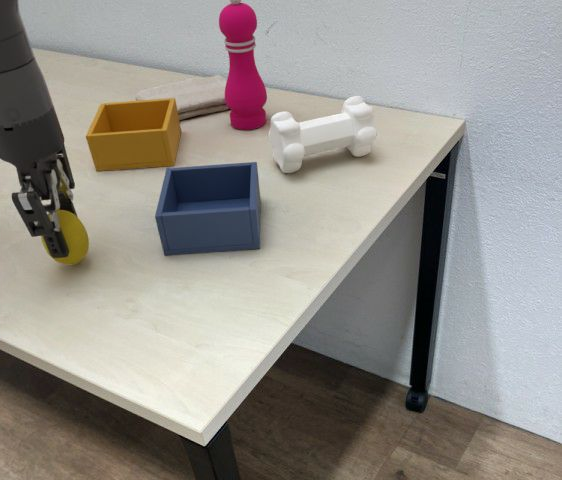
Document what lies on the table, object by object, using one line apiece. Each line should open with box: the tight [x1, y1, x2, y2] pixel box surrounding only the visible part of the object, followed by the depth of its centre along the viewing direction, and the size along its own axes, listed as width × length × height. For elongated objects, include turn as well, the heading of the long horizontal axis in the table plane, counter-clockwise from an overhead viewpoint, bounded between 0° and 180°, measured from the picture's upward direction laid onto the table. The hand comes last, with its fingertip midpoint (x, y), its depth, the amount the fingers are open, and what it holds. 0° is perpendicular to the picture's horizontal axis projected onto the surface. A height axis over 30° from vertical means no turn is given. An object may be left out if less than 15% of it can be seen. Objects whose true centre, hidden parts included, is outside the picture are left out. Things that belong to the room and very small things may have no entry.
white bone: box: [268, 95, 378, 174], centre depth 92 cm, size 15×9×8 cm, turn 110°
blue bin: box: [154, 161, 262, 256], centre depth 82 cm, size 13×13×6 cm
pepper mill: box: [218, 0, 268, 131], centre depth 100 cm, size 7×7×20 cm
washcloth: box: [135, 74, 230, 121], centre depth 112 cm, size 12×18×3 cm, turn 113°
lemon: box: [40, 210, 90, 266], centre depth 77 cm, size 6×6×8 cm
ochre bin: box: [85, 98, 182, 172], centre depth 100 cm, size 13×13×6 cm
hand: (66, 241), depth 77 cm, fingers closed on lemon, 5 cm apart
